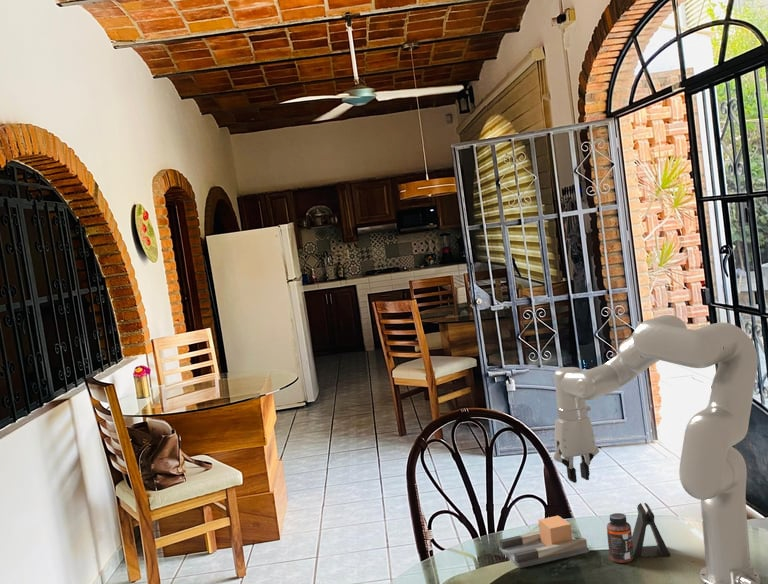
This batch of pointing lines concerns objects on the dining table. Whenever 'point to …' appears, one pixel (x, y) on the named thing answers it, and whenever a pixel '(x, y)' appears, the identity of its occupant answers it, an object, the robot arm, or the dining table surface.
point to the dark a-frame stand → (639, 533)
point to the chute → (539, 549)
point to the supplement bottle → (619, 539)
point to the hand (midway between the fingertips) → (579, 479)
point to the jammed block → (554, 530)
